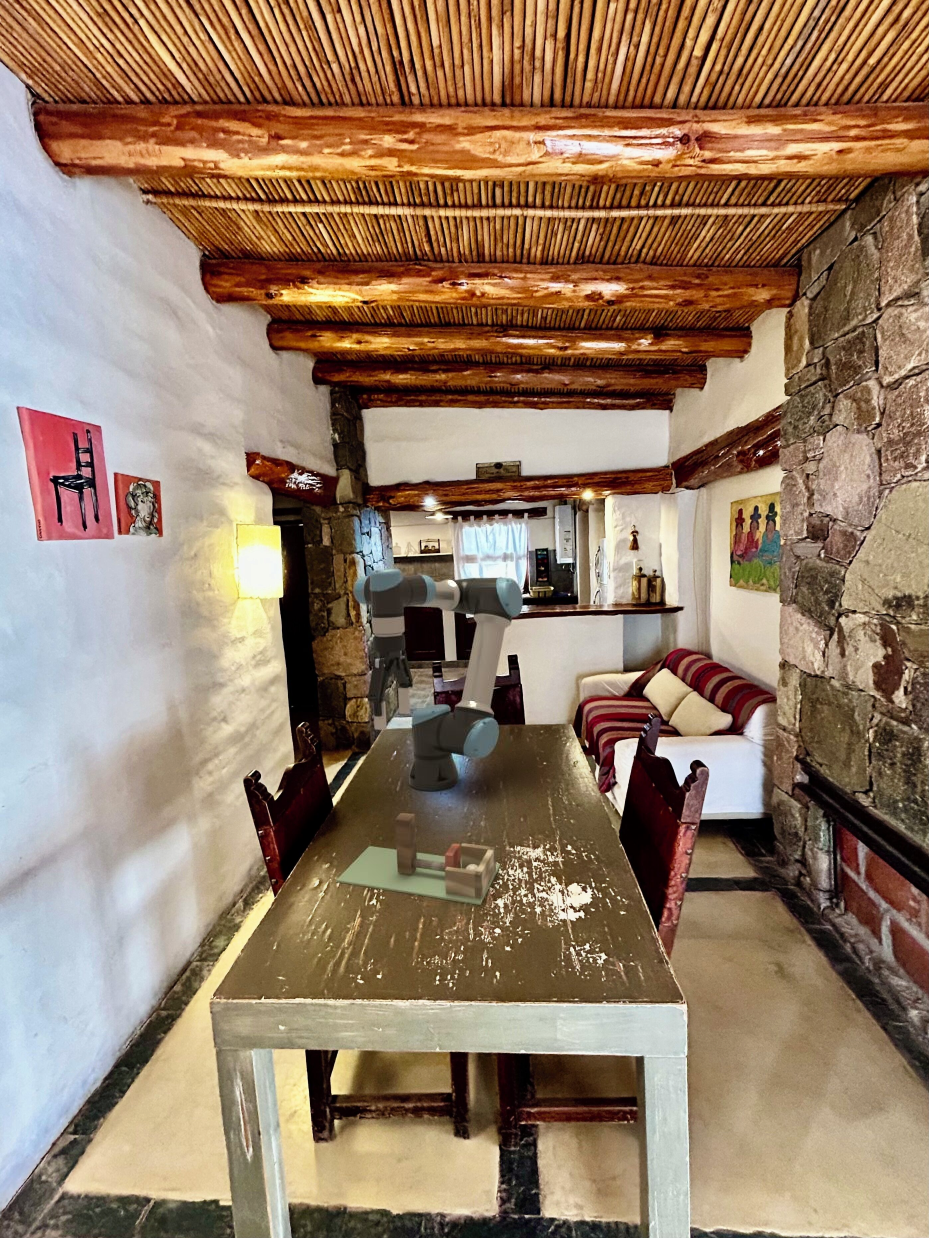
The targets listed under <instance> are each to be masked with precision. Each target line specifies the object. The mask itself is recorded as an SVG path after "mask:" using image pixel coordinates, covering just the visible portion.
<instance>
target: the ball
mask: <svg viewBox="0 0 929 1238" xmlns="http://www.w3.org/2000/svg"><path fill="white" fill-rule="evenodd" d="M477 868H478V866H477V865H475V864H470V865H468V866H467V867H466V870H473V871H476V870H477Z"/></svg>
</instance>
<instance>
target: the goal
mask: <svg viewBox="0 0 929 1238" xmlns="http://www.w3.org/2000/svg"><path fill="white" fill-rule="evenodd" d="M460 857H461V864H462V868H466V867H467V866H468V865H470V864H475V865H477V866H478V868H477V870H476V871H473V870H466V869H459V868H452V867H446V869H445V885H446V893H447V894H453V895H460V896H466V897H472V898H479V899H481V898H482V896H483V894H484V892H485V890H486V888H487V886H488V884H489V882H490V880H491V878H492V876H493V874H494V872H495V870H496V863H497V861H496V860H497V859H496V847H495V846H488V845H481V844H478V845H477V844H470V843H463V842H462V844H460Z"/></svg>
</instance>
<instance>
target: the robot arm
mask: <svg viewBox="0 0 929 1238" xmlns="http://www.w3.org/2000/svg"><path fill="white" fill-rule="evenodd" d="M353 595H354V598H355V601H357V603H359V604H361V605H368V606H371V624H372V633H373V634H374V635H373V637H372V642H373V651H374V652H376V653H378V654H379V656H378V658H372V661H371V663H372V664H371V666H372V669H371V675H370V681H369V687H368V693H367V702H368V703H372V707H373V709H372V710H373V722H374V724H373V725H374V730H377V731H378V730H381V731H386V730H387V729H388V728H387V711H386V701H385V700H384V699H385V695H386V692H387V688H388V683H389V679H390V678H391V677H392V676H394V678H395V679H396V682H397V683H398V685H399V687H398V688H397V694H398V713H399V714H400V715H401V714H402V715H403V714H404V715H410V714H411V702H410V701H411V700H410V688H413V687H414V685H413V682H414V679H413V675H412V673H411V669H410V665H409V661H408V657H407V650H406V636H405V634H404V632H405V630H406V629H405V628H406V627H405V616H404V608H406V607H425V608H426V607H427V608H428V607H429V608H430V607H431V608H439V609H440V610H442V611H445V612H453V613H460V614H465V615H470V616H471V615H472V616H473V619H474V621H475V622H476V627H475V632H474V637H473V642H472V648H471V652H470V656H469V663H468V666H467V671H466V677H465V682H464V687H463V692H462V697H461V700H460V702H458V703H457V704H455V706H454V709H453V712H451V710H452V709H451V706H449V705H448V704H432V705H428V706H423V707H420V708H417V709H415V710H414V711H413V712H412V715H411V733H412V735H411V736H412V748H413V750H412V751H413V760H412V763H411V766H410V770H409V775H408V783H409V784H408V785H409V786H410V787H411V788H414V789H416V790H417V791H418V790H419V791H423V792H425V791H426V792H434V791H437V792H438V791H442V790H443V791H444V790H447V789H451V788H453V787H454V786H456V785H457V784H458V783H459V779H460V778H459V770H458V768H457V764H456V762H455V760H454V757H453V754H454V755H459V756H463V757H466V758H470V759H472V758H474V759H484V758H485V757H487V756H489V755H490V753H492V752H493V750H494V749H495V747H496V745H497V742H498V739H499V734H500V729H499V724H498V722H497V720H496V719H495V717H494V715H495V713H494V711H493V709H492V708H491V705H492V699H493V694H494V689H495V683H496V678H497V673H498V667H499V662H500V658H501V657H500V656H501V653H502V652H501V650H502V647H503V641H504V636H505V631H506V629H507V628H508V627H510V626H511V625H512V621H513V618H516V617H518V616H519V615H520V613H521V612H522V610H523V603H524V602H523V593H522V591H521V588H520V585H519V583H518V582H517V581H516V580H515V579H513V578H511V577H502V576H500V577H470V578H467V577H466V578H460V579H444V580H442V581H434V579H433V578H432V577H430V576H429V575H427V574H416V575H403V574H402V570H401V569H399V568H390V569H389V568H388V569H387V568H386V569H373V570H372V571H370V575H366V576H361V577H359V578H357V580H356V581H354V584H353Z"/></svg>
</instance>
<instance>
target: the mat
mask: <svg viewBox="0 0 929 1238" xmlns="http://www.w3.org/2000/svg"><path fill="white" fill-rule="evenodd" d="M417 859H423V860H430V861H437V862H444V863H445V855H438V854H437V855H436V854H430V853H424V852H423V853H422V852H417ZM500 867H501V864H500V863H497V862H496V870H495V872H494V874H493V876H492V878H491V880H490V882H489V884H488V886H487V888H486V890H485V892H484V894H483V896H482V898H481V899H479V898H472V897H466V896H460V895H453V894H447V893H446V885H445V872H442V871H435V870H428V869H422V868H416V869H415V871H414V872H413V873H412V874H404V873H398V868H397V849H394V848H387V847H379V846H372V845H371V846H370V845H369V846H368V847H367V848H366V849H365V850H364V851H363V852H362V853H361V854H360V855H359V856H357V858H356V859H355V861H353V862H352V863H351V864H350V866H348V868H347V869H346V870H345V871H344V872H343V873H342V874H341V875H340V876H339V877H337V879H336V883H342V884H347V885H353V886H354V885H355V886H361V887H367V888H373V889H379V890H386V891H391V892H397V893H398V892H399V893H405V894H410V895H416V896H423V897H429V898H435V899H440V900H447V901H453V902H460V903H465V904H472V905H477V906H478V905H479V906H481V905H482V903H483V902H484V901H483V900H484V899H485V898H486V895H487V894H488V890H489V888H490V887H491V884H492V883H493V881H494V879H495V877H496V874H497V873H498V871H499V869H500ZM461 869H466V868H462V864H461Z"/></svg>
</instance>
